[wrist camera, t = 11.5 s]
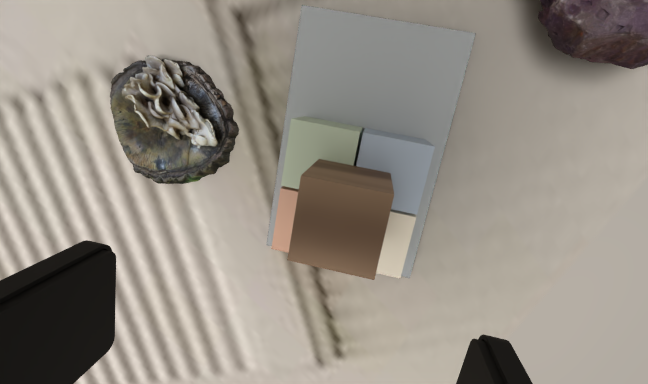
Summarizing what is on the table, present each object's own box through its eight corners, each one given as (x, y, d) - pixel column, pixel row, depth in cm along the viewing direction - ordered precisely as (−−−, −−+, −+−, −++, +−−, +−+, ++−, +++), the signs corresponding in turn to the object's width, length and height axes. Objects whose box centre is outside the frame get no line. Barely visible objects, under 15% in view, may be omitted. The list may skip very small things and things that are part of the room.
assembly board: (304, 8, 28) (301, 4, 27) (472, 35, 27) (475, 33, 26) (269, 241, 33) (266, 245, 32) (408, 272, 32) (409, 278, 31)
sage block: (304, 116, 29) (291, 118, 24) (363, 127, 28) (360, 132, 24) (295, 173, 30) (280, 185, 26) (351, 184, 30) (346, 199, 25)
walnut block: (318, 158, 25) (300, 175, 19) (390, 173, 24) (394, 194, 18) (307, 225, 26) (287, 260, 20) (375, 240, 26) (374, 279, 20)
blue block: (365, 127, 28) (362, 132, 24) (425, 139, 28) (435, 146, 23) (353, 185, 30) (349, 200, 25) (410, 197, 29) (417, 214, 25)
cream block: (353, 187, 30) (348, 202, 25) (410, 199, 29) (416, 217, 25) (342, 239, 31) (336, 263, 26) (396, 252, 31) (400, 278, 26)
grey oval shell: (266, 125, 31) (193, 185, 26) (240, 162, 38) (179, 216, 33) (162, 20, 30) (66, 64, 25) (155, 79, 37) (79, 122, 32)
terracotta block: (295, 175, 30) (280, 188, 26) (350, 187, 30) (345, 202, 25) (286, 227, 31) (271, 248, 27) (340, 239, 31) (333, 263, 26)
